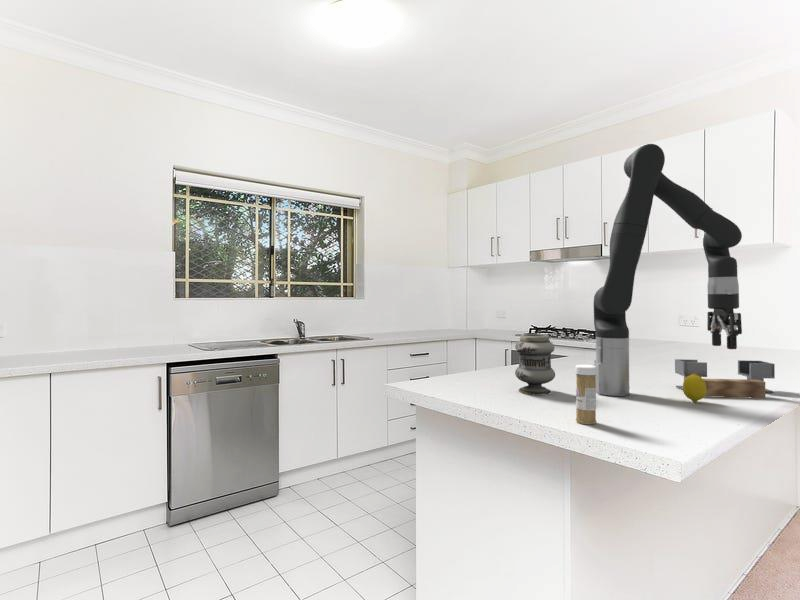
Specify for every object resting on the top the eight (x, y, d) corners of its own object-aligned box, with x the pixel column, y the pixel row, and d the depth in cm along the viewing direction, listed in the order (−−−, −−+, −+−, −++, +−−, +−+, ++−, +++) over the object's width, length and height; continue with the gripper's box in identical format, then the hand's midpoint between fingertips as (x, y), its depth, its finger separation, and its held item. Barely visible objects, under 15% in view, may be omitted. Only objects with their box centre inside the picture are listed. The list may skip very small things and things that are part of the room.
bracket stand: (684, 391, 139) (683, 362, 139) (674, 386, 146) (674, 359, 146) (775, 393, 134) (775, 363, 134) (761, 389, 141) (760, 360, 141)
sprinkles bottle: (572, 420, 107) (571, 364, 107) (590, 419, 108) (590, 363, 108) (581, 425, 103) (581, 367, 103) (600, 424, 103) (600, 366, 103)
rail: (689, 397, 132) (689, 380, 132) (684, 394, 135) (684, 378, 135) (765, 399, 128) (765, 381, 128) (757, 396, 132) (757, 379, 132)
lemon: (699, 400, 127) (699, 372, 127) (710, 404, 121) (710, 375, 121) (678, 399, 127) (678, 372, 127) (689, 404, 122) (689, 375, 122)
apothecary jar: (515, 395, 135) (515, 335, 135) (514, 387, 147) (514, 332, 147) (557, 396, 133) (557, 336, 133) (553, 388, 145) (552, 333, 145)
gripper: (697, 293, 139) (698, 345, 139) (721, 292, 125) (722, 350, 126) (724, 292, 138) (725, 345, 138) (751, 292, 124) (752, 350, 124)
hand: (724, 347), depth 132 cm, fingers open, 8 cm apart
